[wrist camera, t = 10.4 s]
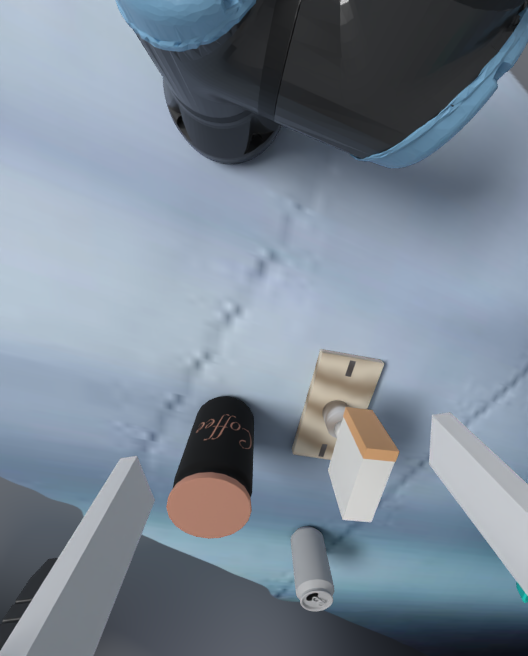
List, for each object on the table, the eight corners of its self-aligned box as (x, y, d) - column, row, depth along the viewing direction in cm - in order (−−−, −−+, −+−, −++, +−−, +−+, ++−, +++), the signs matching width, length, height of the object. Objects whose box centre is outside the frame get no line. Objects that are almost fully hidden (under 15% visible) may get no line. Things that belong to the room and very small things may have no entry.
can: (303, 519, 60) (314, 585, 48) (329, 532, 61) (344, 599, 50) (283, 537, 61) (289, 606, 50) (308, 550, 63) (319, 619, 52)
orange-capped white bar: (323, 454, 46) (342, 520, 35) (339, 394, 42) (366, 448, 32) (346, 457, 46) (371, 522, 36) (364, 397, 42) (399, 451, 32)
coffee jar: (262, 404, 49) (264, 492, 32) (242, 446, 53) (233, 547, 36) (208, 385, 48) (180, 467, 31) (190, 430, 51) (155, 526, 34)
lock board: (320, 349, 46) (328, 363, 41) (380, 359, 47) (395, 375, 42) (291, 448, 53) (295, 471, 48) (344, 456, 54) (353, 479, 49)
